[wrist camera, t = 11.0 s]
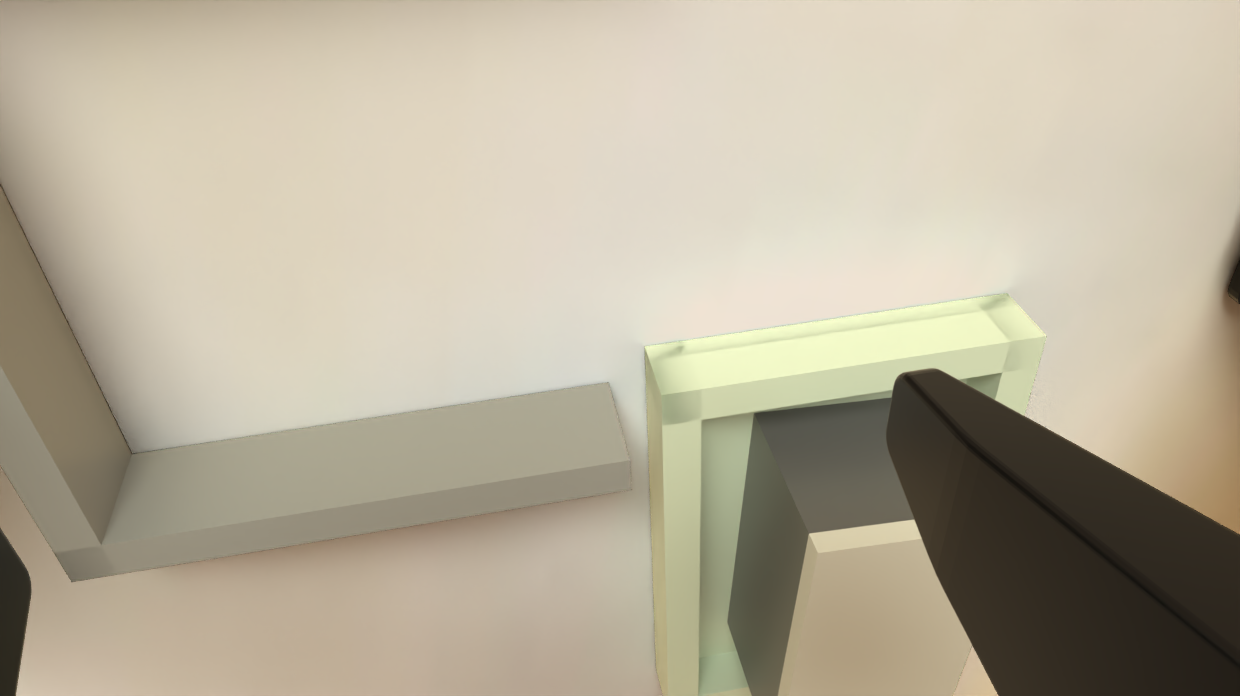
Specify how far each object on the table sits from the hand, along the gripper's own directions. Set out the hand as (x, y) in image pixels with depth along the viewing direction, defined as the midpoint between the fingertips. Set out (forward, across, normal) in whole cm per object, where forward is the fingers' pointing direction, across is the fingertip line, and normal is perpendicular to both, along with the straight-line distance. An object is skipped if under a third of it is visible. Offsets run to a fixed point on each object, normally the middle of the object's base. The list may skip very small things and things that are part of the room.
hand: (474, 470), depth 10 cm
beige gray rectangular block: (+11, -9, +15) cm, 21 cm away
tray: (+12, -9, +15) cm, 21 cm away
